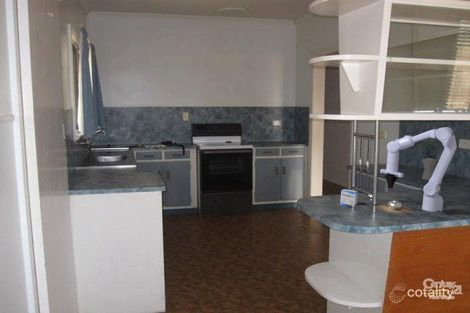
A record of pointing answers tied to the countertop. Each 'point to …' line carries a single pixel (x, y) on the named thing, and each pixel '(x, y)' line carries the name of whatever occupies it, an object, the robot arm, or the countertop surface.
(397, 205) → the metal cover
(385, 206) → the turntable
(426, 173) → the coffeepot
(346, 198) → the medicine box
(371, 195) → the dial gauge
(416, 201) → the countertop surface
